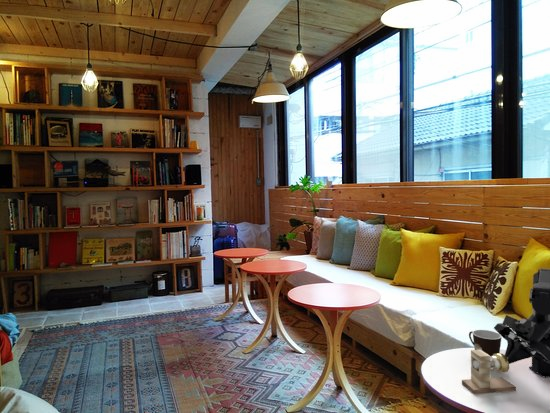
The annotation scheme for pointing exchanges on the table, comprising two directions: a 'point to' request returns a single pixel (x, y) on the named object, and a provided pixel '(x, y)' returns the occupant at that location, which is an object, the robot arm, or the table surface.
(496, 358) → the shaft
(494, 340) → the coffee mug
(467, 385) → the bearing stand
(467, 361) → the table surface
